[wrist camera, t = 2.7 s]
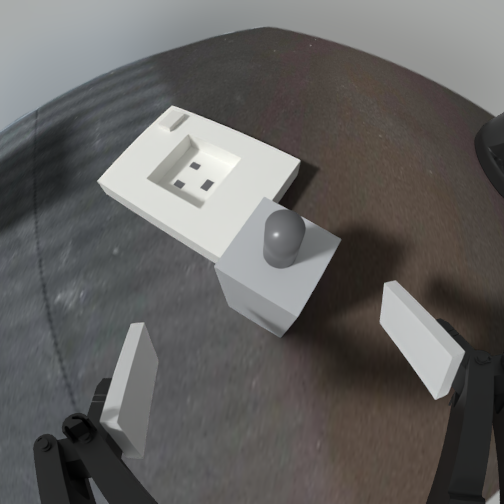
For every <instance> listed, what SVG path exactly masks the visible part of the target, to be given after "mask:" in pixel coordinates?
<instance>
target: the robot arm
mask: <svg viewBox="0 0 504 504" xmlns="http://www.w3.org/2000/svg"><path fill="white" fill-rule="evenodd" d="M475 149H476V153H477V156H478V159H479V161H480V164H481V166H482V168H483V170H484V172H485V173H486V175H487V177H488V178H489V180H490V181H491V183H492V184H493V185H494V187H495V188H496V189H497V191H498V192H499V193H500V194H501V195H502V196H503V197H504V112H503V113H502V114H500V115H498V116H497V117H495V118H493V119H492V120H490V121H488V122H487V123H485V124H484V125H483V126H482V128H481V129H480V130H479V132H478V133H477V135H476V137H475ZM380 324H381V325H382V327H383V328H384V329H385V331H386V332H387V333H388V335H389V336H390V337H391V339H392V340H393V341H394V343H395V344H396V345H397V347H398V348H399V349H400V351H401V352H402V353H403V355H404V356H405V358H406V359H407V360H408V362H409V363H410V364H411V366H412V367H413V369H414V370H415V371H416V373H417V374H418V376H419V377H420V379H421V380H422V381H423V383H424V384H425V386H426V387H427V388H428V390H429V391H430V393H431V394H432V396H433V397H434V399H435V400H436V399H438V398H441V397H443V396H445V395H447V394H448V392H449V390H450V388H451V386H452V387H453V388H454V389H455V392H454V394H453V396H452V398H451V400H450V402H449V406H450V405H451V403H452V405H451V411H450V417H449V422H448V427H447V432H446V436H445V441H444V445H443V449H442V453H441V457H440V460H439V464H438V468H437V471H436V475H435V478H434V481H433V484H432V487H431V490H430V493H429V496H428V499H427V502H426V504H485V499H484V498H483V497H482V490H483V485H484V480H485V475H486V469H487V463H488V456H489V449H490V441H491V431H492V423H493V429H494V436H495V443H496V451H497V460H498V471H499V487H500V504H504V352H503V354H502V355H496V356H491V355H490V354H489V353H488V352H486V351H483V350H476V351H475V350H474V349H473V347H472V346H471V345H470V344H469V343H468V342H467V341H466V340H465V339H464V338H463V337H462V336H461V335H459V333H458V332H457V331H456V330H454V328H453V327H452V326H451V325H450V324H449V323H448V322H446V321H444V320H442V319H437V320H435V319H434V318H433V317H432V316H431V315H430V314H429V313H428V312H427V311H426V310H425V309H424V308H423V307H422V306H421V305H420V304H419V303H418V302H417V301H416V300H415V299H414V298H413V297H412V296H411V295H410V294H409V293H408V292H407V291H406V290H405V289H404V288H403V287H402V286H401V285H400V284H399V283H398V282H397V281H396V280H395V281H391V282H386V283H384V290H383V299H382V308H381V316H380ZM158 362H159V360H158V358H157V355H156V353H155V350H154V348H153V345H152V342H151V340H150V337H149V334H148V332H147V329H146V326H145V323H144V322H143V323H134V324H131V325H130V328H129V331H128V334H127V337H126V339H125V342H124V345H123V348H122V351H121V354H120V357H119V360H118V363H117V366H116V369H115V372H114V375H113V378H103V380H102V381H101V382H100V383H99V384H98V386H97V388H96V391H95V394H94V396H93V399H92V403H91V405H90V409H89V412H88V415H87V416H86V415H85V414H82V413H75V414H72V415H70V416H69V417H67V418H66V419H65V421H64V422H63V425H62V431H63V433H64V434H65V435H66V437H67V438H66V439H61V440H57V439H56V438H55V437H54V436H53V435H50V434H44V435H42V436H40V437H38V438H37V439H36V441H35V443H34V448H33V450H34V460H35V468H36V475H37V482H38V488H39V494H40V499H41V504H96V502H95V499H94V496H93V492H92V489H91V486H90V483H89V479H88V478H91V477H92V478H93V480H94V482H95V483H96V485H97V486H98V488H99V489H100V491H101V492H102V494H103V495H104V497H105V498H106V500H107V501H108V503H109V504H158V503H157V502H156V501H155V500H154V498H153V497H152V496H151V495H150V494H149V493H148V492H147V490H146V489H145V488H144V487H143V486H142V484H141V483H140V482H139V481H138V480H137V478H136V477H135V476H134V475H133V473H132V472H131V471H130V470H129V468H128V467H127V466H126V464H125V463H124V462H123V460H122V459H121V456H122V452H123V453H124V454H125V455H126V457H127V458H143V457H144V450H145V442H146V435H147V428H148V421H149V414H150V408H151V402H152V396H153V390H154V384H155V378H156V373H157V367H158Z"/></svg>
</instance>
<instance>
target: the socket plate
mask: <svg viewBox="0 0 504 504" xmlns="http://www.w3.org/2000/svg"><path fill="white" fill-rule="evenodd" d="M300 161H301V160H299V159H297V158H295V157H293V156H291V155H289V154H287V153H285V152H282V151H280V150H278V149H276V148H274V147H272V146H270V145H267V144H265V143H263V142H261V141H259V140H256V139H254V138H252V137H250V136H247V135H245V134H243V133H240V132H238V131H236V130H233V129H231V128H229V127H226V126H224V125H221V124H219V123H216V122H214V121H212V120H209V119H206V118H204V117H201V116H199V115H196V114H194V113H191V112H188V111H186V110H183V109H180V108H178V107H175V106H171V107H170V108H169V109H168V110H167V111H165V112H164V113H163V114H162V115H161V116H160V117H159V118H158V119H157V120H156V121H155V122H154V123H153V124H152V125H150V126H149V127H148V128H147V129H146V130H145V131H144V132H143V133H142V134H141V135H140V136H139V137H138V138H137V139H136V140H135V141H134V142H133V143H132V144H131V145H130V146H129V147H128V148H127V149H126V150H125V151H124V152H123V154H122V155H121V156H120V157H119V158H118V159H117V160H116V161H115V162H114V163H113V164H112V165H111V166H110V167H109V169H108V170H107V171H106V172H105V173H104V174H103V175H102V176H101V178H100V179H99V180H98V183H99V184H100V186H101V187H102V188H103V190H104V191H105V193H106V194H107V195H109V196H111V197H112V198H114V199H115V200H117V201H118V202H120V203H121V204H123V205H124V206H126V207H127V208H129V209H130V210H132V211H133V212H135V213H137V214H138V215H140V216H141V217H143V218H144V219H146V220H147V221H149V222H150V223H152V224H154V225H155V226H157V227H158V228H160V229H161V230H163V231H165V232H166V233H168V234H169V235H171V236H172V237H174V238H176V239H177V240H179V241H180V242H182V243H183V244H185V245H187V246H188V247H190V248H191V249H193V250H195V251H196V252H198V253H199V254H201V255H203V256H204V257H206V258H207V259H209V260H211V261H212V262H214V263H217V262H218V260H219V259H220V257H221V256H222V255H223V253H224V252H225V250H226V249H227V248H228V246H229V245H230V243H231V242H232V241H233V239H234V238H235V236H236V235H237V234H238V232H239V231H240V229H241V228H242V227H243V225H244V224H245V222H246V221H247V220H248V218H249V217H250V215H251V214H252V213H253V211H254V210H255V209H256V207H257V206H258V204H259V203H260V202H261V200H262V199H263V198H264V197H266V198H268V199H270V200H272V201H273V202H275V203H277V204H278V203H279V201H280V200H281V198H282V197H283V195H284V194H285V192H286V191H287V190H288V188H289V187H290V185H291V184H292V182H293V181H294V180H295V178H296V177H297V175H298V171H299V166H300Z"/></svg>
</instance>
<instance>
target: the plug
mask: <svg viewBox="0 0 504 504" xmlns="http://www.w3.org/2000/svg"><path fill="white" fill-rule="evenodd" d="M340 241H341V239H340V238H339V237H337V236H335V235H333V234H332V233H330V232H328V231H326V230H325V229H323V228H321V227H319V226H317V225H316V224H314V223H312V222H310V221H308V220H307V219H305V218H303V217H301V216H300V215H299V214H297V213H296V212H294V211H291V210H288V209H287V208H285V207H283V206H281V205H279V204H277V203H275V202H273V201H272V200H270V199H268V198H266V197H264V198H263V199H262V200H261V202H260V203H259V204H258V206H257V207H256V209H255V210H254V211H253V213H252V214H251V215H250V217H249V218H248V220H247V221H246V222H245V224H244V225H243V227H242V228H241V229H240V231H239V232H238V234H237V235H236V236H235V238H234V239H233V241H232V242H231V243H230V245H229V246H228V248H227V249H226V250H225V252H224V253H223V255H222V256H221V257H220V259H219V260H218V262H217V263H216V265H215V266H214V268H215V271H216V273H217V276H218V279H219V281H220V284H221V287H222V290H223V292H224V295H225V297H226V300H227V303H228V305H229V307H231V308H232V309H234V310H236V311H237V312H239V313H240V314H242V315H244V316H245V317H247V318H249V319H250V320H252V321H253V322H255V323H257V324H258V325H260V326H262V327H263V328H265V329H267V330H268V331H270V332H272V333H273V334H275V335H277V336H278V337H280V338H281V337H282V336H283V335H284V333H285V332H286V331H287V330H288V328H289V327H290V326H291V325H292V324H293V322H294V321H295V320H296V319H297V317H298V316H299V314H300V312H301V311H302V309H303V307H304V306H305V304H306V302H307V300H308V299H309V297H310V295H311V293H312V292H313V290H314V288H315V287H316V285H317V283H318V281H319V279H320V278H321V276H322V274H323V272H324V271H325V269H326V267H327V265H328V263H329V261H330V260H331V258H332V256H333V254H334V252H335V250H336V249H337V247H338V245H339V243H340Z"/></svg>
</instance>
